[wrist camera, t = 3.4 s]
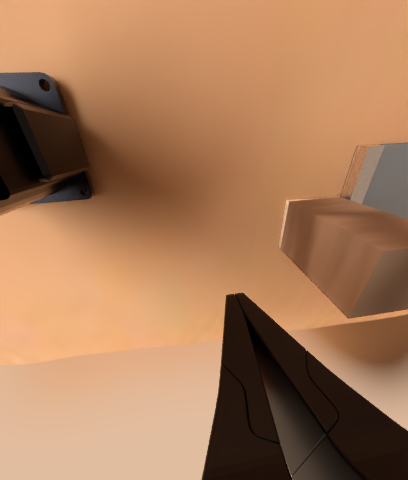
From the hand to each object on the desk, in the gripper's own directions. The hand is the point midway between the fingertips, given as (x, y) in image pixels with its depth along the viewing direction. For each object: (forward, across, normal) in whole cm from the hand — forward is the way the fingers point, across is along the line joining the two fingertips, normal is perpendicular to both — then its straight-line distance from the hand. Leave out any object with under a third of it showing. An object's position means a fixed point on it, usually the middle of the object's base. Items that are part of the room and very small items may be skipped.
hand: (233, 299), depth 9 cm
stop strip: (+8, -12, 0) cm, 14 cm away
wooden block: (+8, -9, 0) cm, 12 cm away
